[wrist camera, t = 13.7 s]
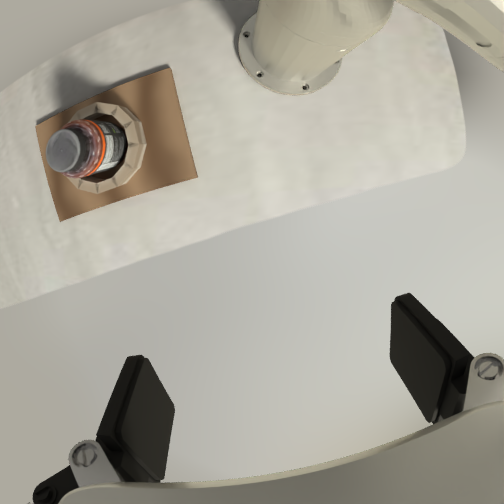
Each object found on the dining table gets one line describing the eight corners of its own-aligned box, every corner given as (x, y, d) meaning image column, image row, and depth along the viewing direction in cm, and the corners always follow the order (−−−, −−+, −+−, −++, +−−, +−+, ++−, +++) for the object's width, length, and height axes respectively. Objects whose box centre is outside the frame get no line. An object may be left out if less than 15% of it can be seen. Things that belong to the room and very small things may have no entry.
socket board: (171, 69, 31) (164, 61, 27) (197, 176, 36) (193, 180, 32) (39, 126, 31) (22, 126, 28) (63, 219, 36) (48, 227, 32)
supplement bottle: (81, 161, 33) (30, 172, 22) (96, 116, 31) (47, 111, 20) (120, 176, 34) (77, 191, 23) (136, 130, 32) (97, 126, 22)
